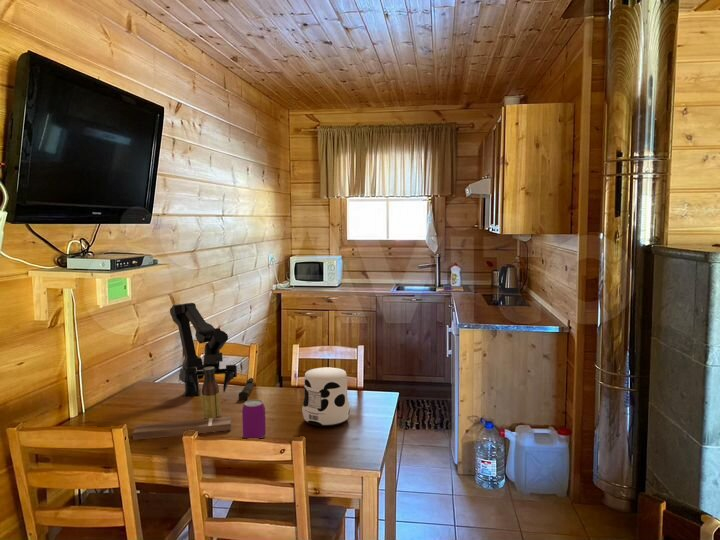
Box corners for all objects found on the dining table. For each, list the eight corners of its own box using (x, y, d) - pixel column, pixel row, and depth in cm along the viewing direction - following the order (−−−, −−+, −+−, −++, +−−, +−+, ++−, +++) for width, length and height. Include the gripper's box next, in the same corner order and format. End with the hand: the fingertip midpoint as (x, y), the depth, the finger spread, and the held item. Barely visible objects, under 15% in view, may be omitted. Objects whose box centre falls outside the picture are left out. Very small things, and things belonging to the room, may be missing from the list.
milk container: (346, 411, 201) (345, 365, 199) (353, 428, 184) (352, 378, 182) (301, 414, 198) (300, 367, 196) (304, 432, 181) (303, 381, 179)
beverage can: (269, 433, 180) (268, 399, 179) (260, 442, 173) (259, 407, 172) (248, 431, 182) (247, 398, 181) (239, 440, 175) (237, 405, 173)
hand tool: (248, 401, 213) (247, 390, 213) (238, 401, 213) (238, 390, 213) (258, 387, 232) (258, 376, 232) (249, 386, 232) (249, 376, 232)
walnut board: (137, 431, 182) (136, 424, 182) (231, 423, 189) (231, 416, 189) (133, 440, 176) (132, 432, 175) (230, 430, 182) (230, 423, 182)
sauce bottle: (215, 415, 197) (214, 364, 195) (224, 419, 193) (222, 367, 191) (199, 420, 193) (197, 367, 191) (207, 424, 188) (206, 371, 186)
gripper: (184, 346, 196) (182, 384, 186) (235, 343, 199) (236, 380, 190) (187, 361, 204) (185, 398, 194) (236, 358, 208) (237, 394, 198)
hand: (211, 392), depth 194 cm, fingers open, 9 cm apart
